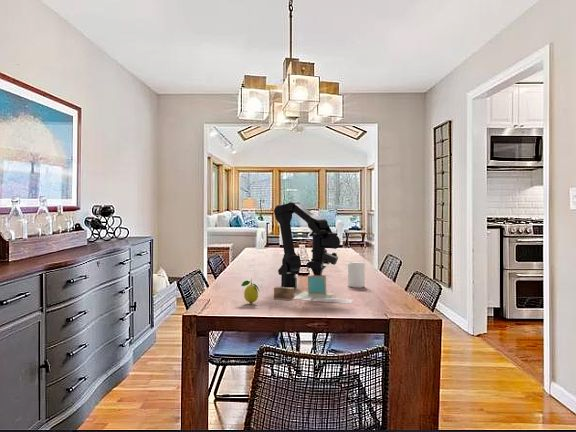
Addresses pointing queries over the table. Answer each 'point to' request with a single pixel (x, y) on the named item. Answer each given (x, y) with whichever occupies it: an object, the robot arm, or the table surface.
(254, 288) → the lemon
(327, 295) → the felt mat
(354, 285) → the grey cylinder
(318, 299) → the tool pad
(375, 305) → the table surface
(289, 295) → the turner
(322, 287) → the tile
